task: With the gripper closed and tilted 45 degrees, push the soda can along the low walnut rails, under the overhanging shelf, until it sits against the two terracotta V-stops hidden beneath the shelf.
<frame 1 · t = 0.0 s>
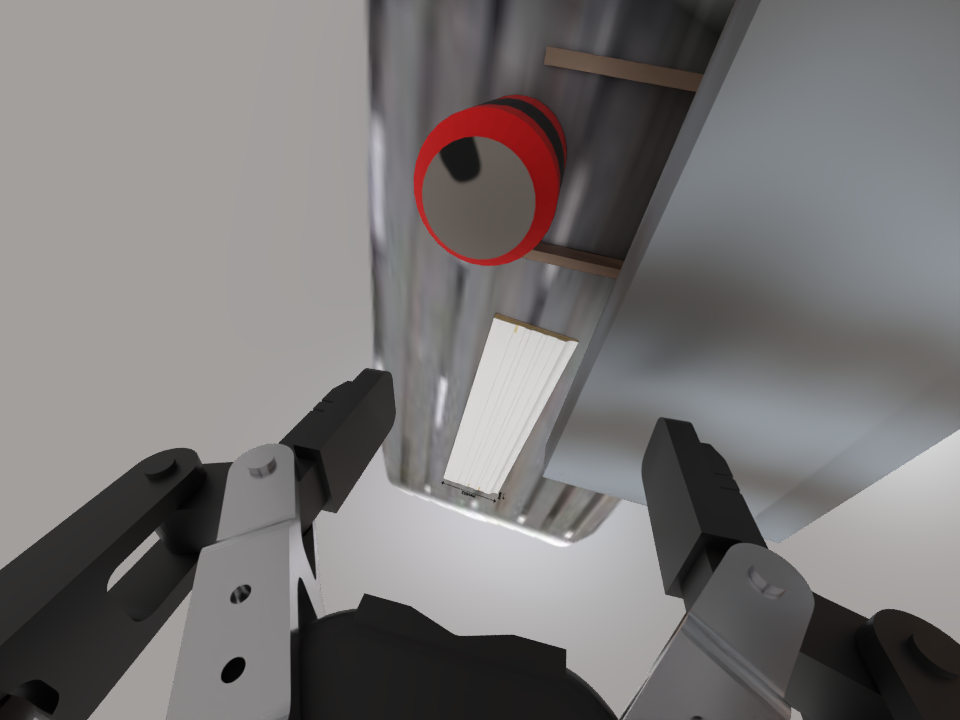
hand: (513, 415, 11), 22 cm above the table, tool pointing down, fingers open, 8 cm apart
baseboard: (503, 418, 46), on the table
soda can: (514, 157, 27), on the table
overhang shelf: (656, 188, 26), on the table
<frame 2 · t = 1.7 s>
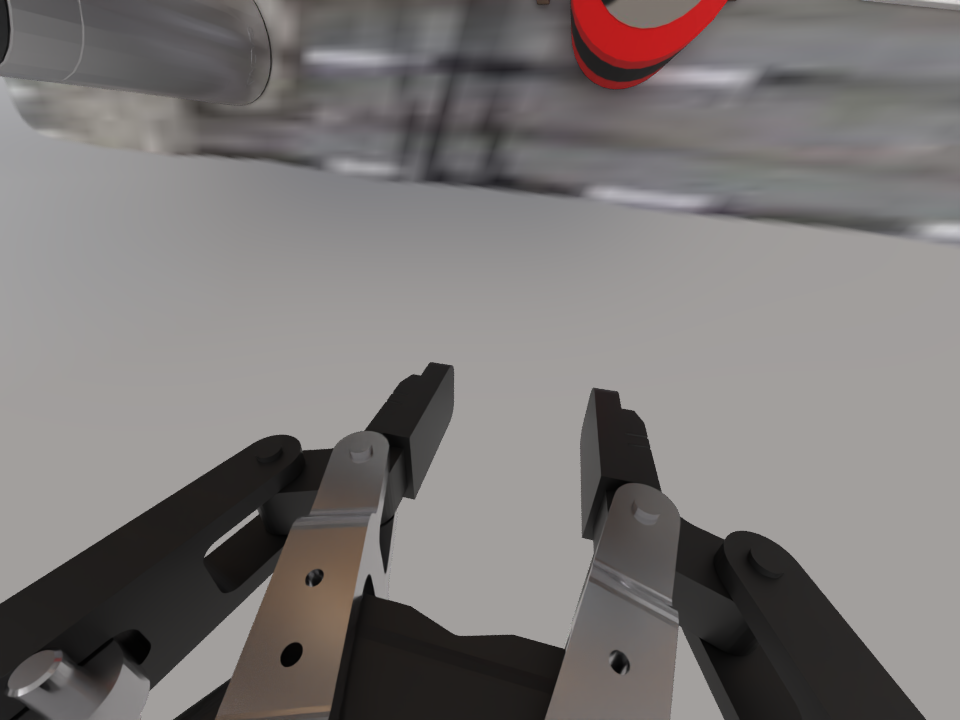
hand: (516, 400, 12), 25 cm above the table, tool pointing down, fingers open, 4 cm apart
soda can: (627, 22, 25), on the table
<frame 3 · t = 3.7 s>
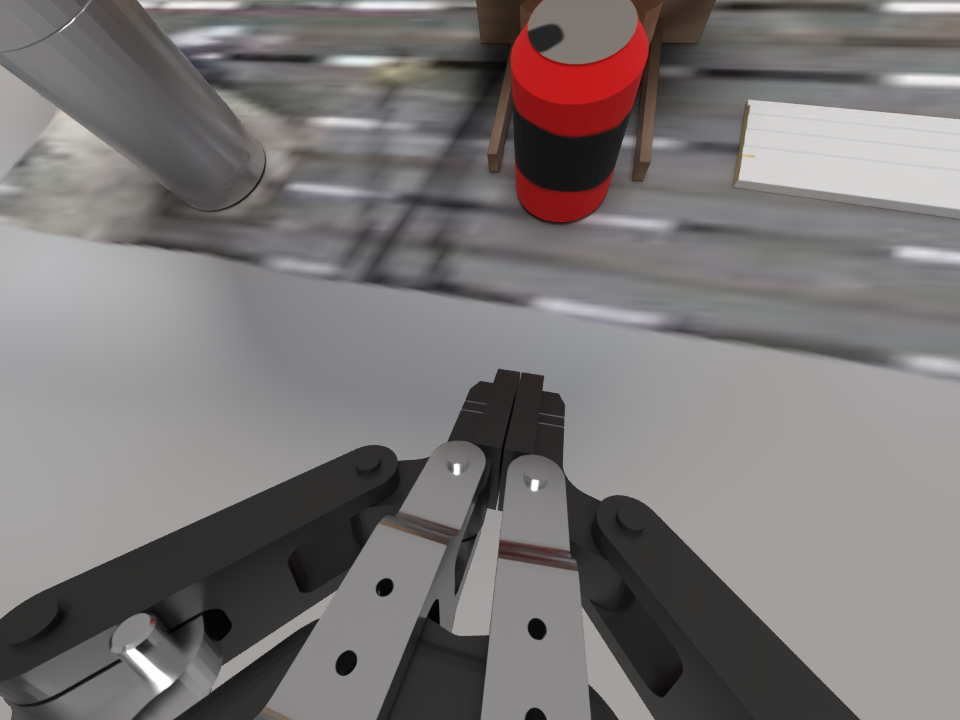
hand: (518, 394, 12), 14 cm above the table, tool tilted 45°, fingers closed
baseboard: (951, 170, 27), on the table
soda can: (561, 187, 31), on the table
overhang shelf: (577, 88, 33), on the table
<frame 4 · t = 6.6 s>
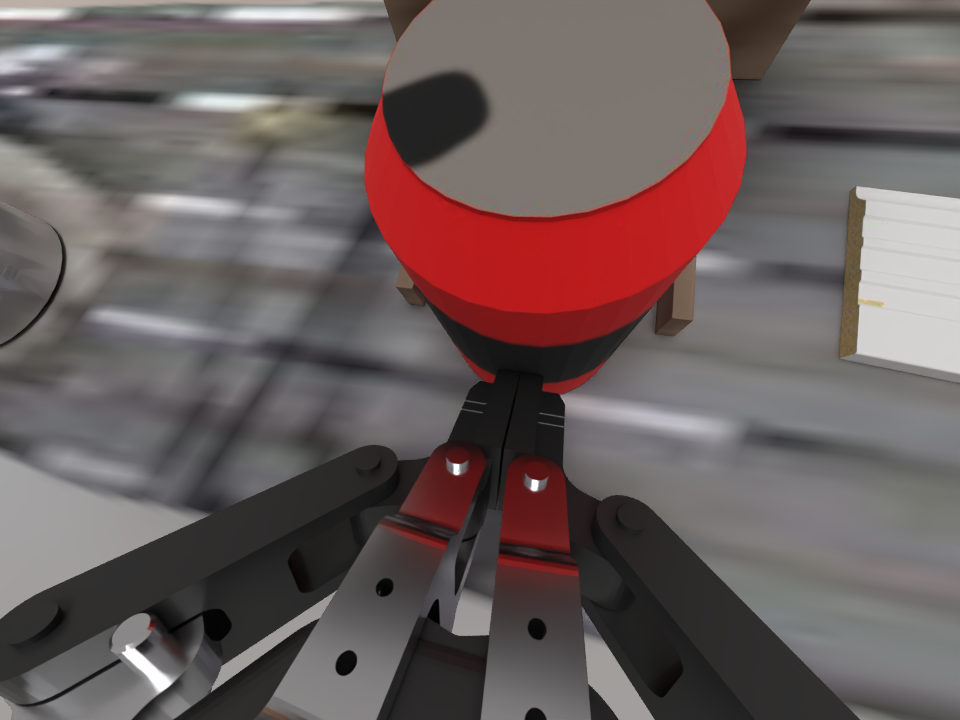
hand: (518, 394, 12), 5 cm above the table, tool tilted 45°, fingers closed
soda can: (533, 323, 18), on the table, touching gripper
overhang shelf: (558, 156, 20), on the table
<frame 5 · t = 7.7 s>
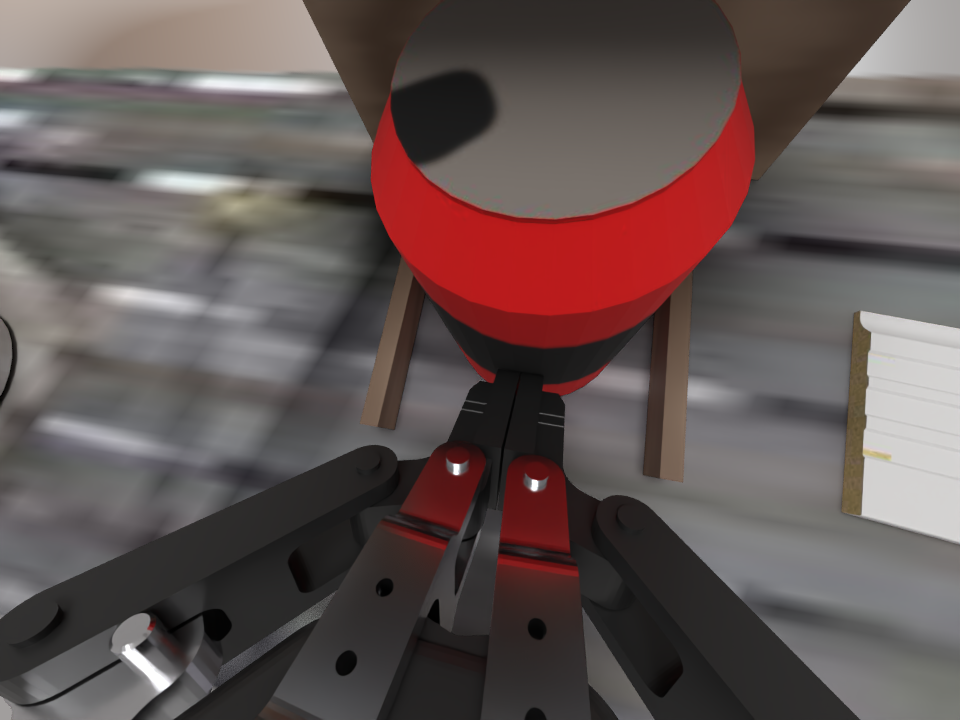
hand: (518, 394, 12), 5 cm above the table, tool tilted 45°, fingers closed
soda can: (536, 323, 18), on the table, touching gripper
overhang shelf: (540, 260, 18), on the table
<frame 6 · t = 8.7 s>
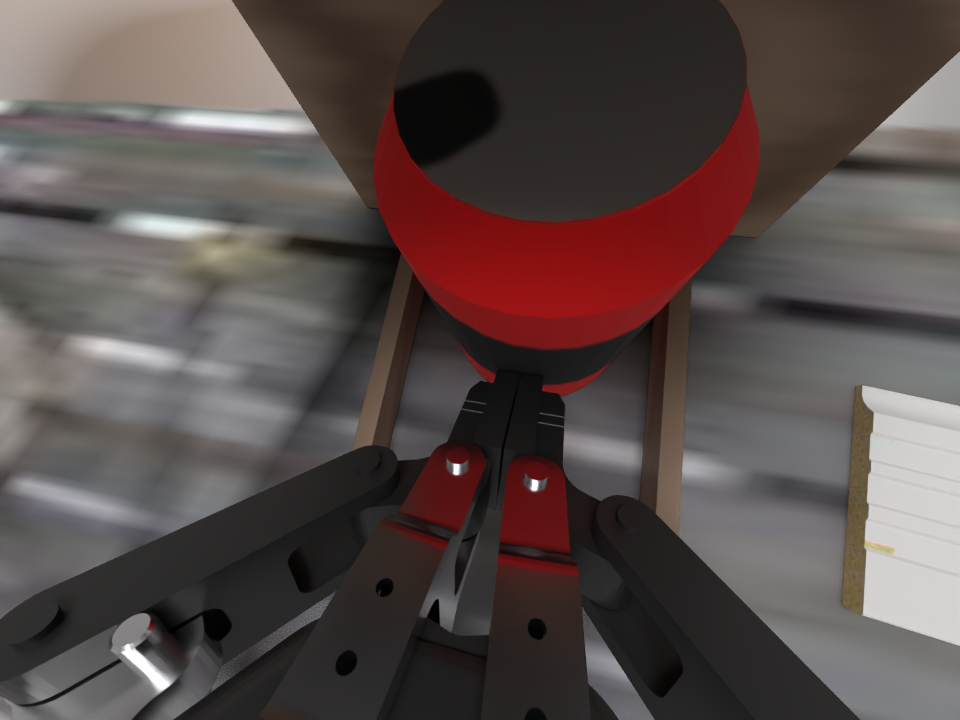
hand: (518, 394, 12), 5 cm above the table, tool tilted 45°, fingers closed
soda can: (537, 323, 18), on the table, touching gripper, overhang shelf
overhang shelf: (530, 320, 18), on the table
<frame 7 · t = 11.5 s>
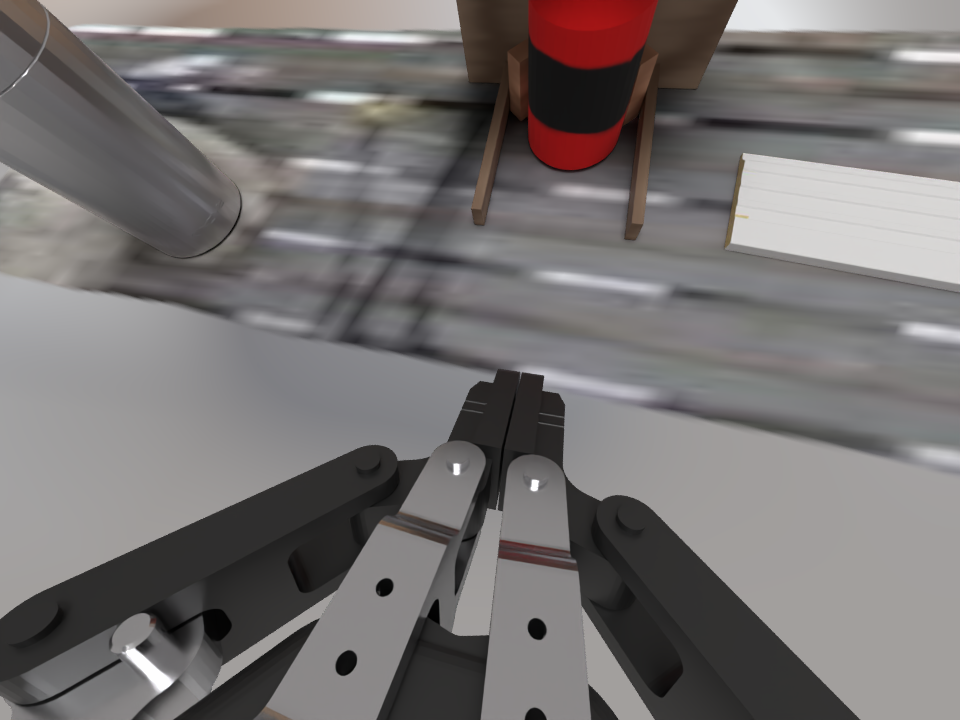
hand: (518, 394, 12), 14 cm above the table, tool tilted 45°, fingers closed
baseboard: (956, 236, 26), on the table
soda can: (572, 138, 31), on the table
overhang shelf: (568, 135, 31), on the table
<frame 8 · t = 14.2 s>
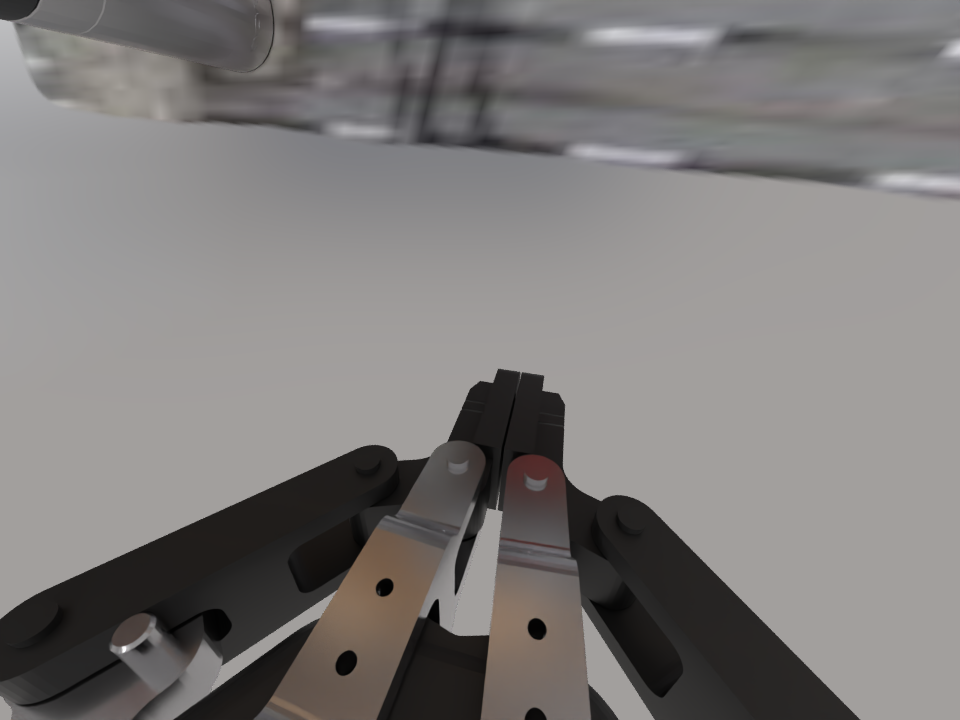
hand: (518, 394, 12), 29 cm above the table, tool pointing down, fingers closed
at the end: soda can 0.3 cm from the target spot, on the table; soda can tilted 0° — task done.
